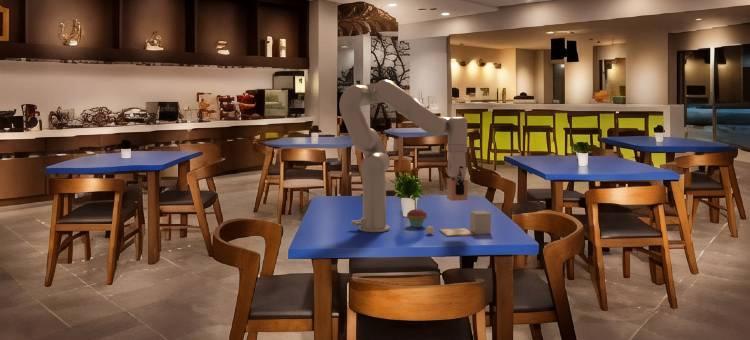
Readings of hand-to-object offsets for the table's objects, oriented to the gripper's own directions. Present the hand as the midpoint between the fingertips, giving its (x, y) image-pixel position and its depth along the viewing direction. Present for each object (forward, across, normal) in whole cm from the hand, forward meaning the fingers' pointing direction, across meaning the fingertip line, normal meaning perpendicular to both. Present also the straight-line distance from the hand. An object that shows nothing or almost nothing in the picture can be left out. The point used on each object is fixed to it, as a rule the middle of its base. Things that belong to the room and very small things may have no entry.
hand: (457, 193), depth 244 cm
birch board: (+16, 0, 0) cm, 16 cm away
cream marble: (+16, 0, -11) cm, 20 cm away
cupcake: (+16, -17, -12) cm, 27 cm away
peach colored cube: (+2, 0, 0) cm, 2 cm away
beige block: (+16, 0, +10) cm, 19 cm away
